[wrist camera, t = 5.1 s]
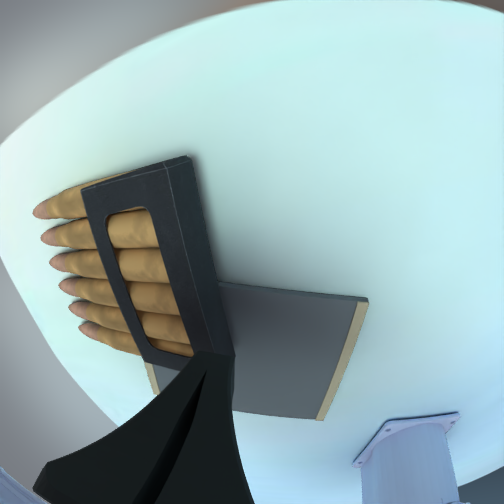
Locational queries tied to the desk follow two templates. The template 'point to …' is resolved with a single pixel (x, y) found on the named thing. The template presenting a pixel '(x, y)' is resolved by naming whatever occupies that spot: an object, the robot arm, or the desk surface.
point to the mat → (284, 349)
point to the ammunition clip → (141, 263)
